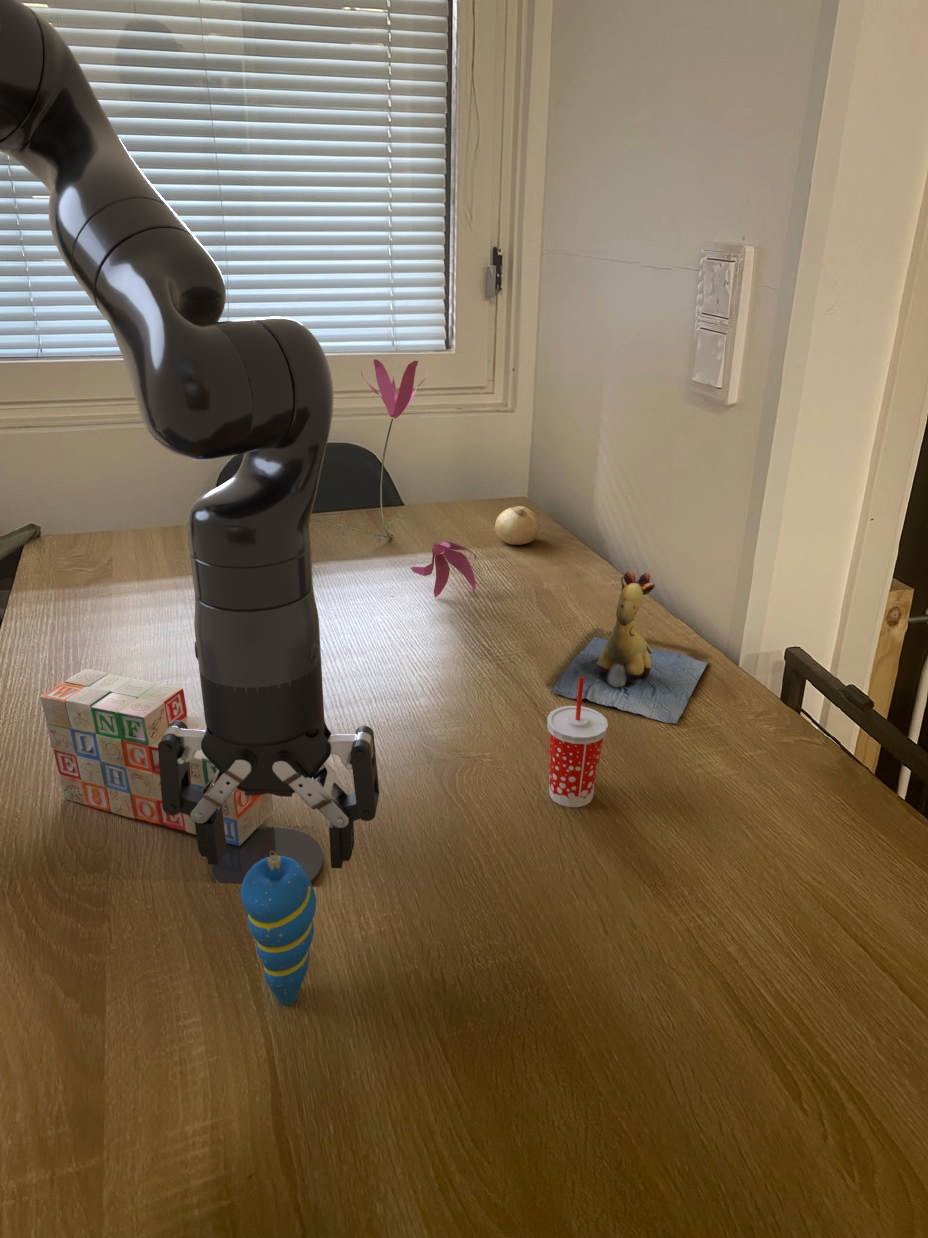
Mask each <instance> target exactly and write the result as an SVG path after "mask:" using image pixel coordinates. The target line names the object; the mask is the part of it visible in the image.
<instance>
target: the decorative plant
mask: <svg viewBox="0 0 928 1238" xmlns="http://www.w3.org/2000/svg"><path fill="white" fill-rule="evenodd" d="M418 364H419V360H413V361H412V362H409V363H408V364H407V366H406V368H405V370H404V372H403V375H402V378H401V382H400V385H399V387H396V382H395V377H394V376H393V377H392V381H391V378H390V375H389V373H388V371H387V369H386V368H385V366H384V364H383V363H381V362H380V360H379V359H373V366H374V371H375V378H376V379H375V380H376V383H377V387H378V389H379V391H377V389H376V388H375V387H374V386H372V385H371V384H370V383H368V381H367V380H366V379H365V378H364V375H363V371H362V370H361V371H360V373H361V378H363V379H364V381H365V383H366V384H367V385H368V387H369V388H370V389H371V390H372V391H373V393H375V394H377V395H379V396H380V398H381V401H382V402H383V404H384V405H385V407H386V410H387V413H388V415H389V416H390V418H391V421H390V424H389V428H388V431H387V435H386V440H385V444H384V448H383V454H382V461H381V469H380V483H379V485H380V487H379V498H380V499H379V504H380V505H379V507H380V515H381V521H382V525H383V528H384V531H385V533H386V535H382V534H378V533H375V532H371V531H368V530H364V529H360V528H356V527H353V526H348V525H344V524H340V523H335V522H328V521H322V520H318V519H311V518H310V522H314V523H315V522H316V523H320V524H321V523H322V524H327V525H332V526H338V527H343V528H347V529H351V530H354V531H358V532H362V533H365V534H370V535H374V536H377V537H380V538H378V541H381V540H382V539H383V538H388V539H390V538H391V537H393V536H394V534H390V533H389V528H390V525H391V524H392V523H393V522H395V521H404V522H405V523H407V521H406V520H403V519H401V518H400V519H399V518H395V519H391V520H390V521H389V522H388V524H387V525H386V522H385V516H384V509H383V479H384V478H383V476H384V466H385V464H384V463H385V457H386V451H387V447H388V441H389V437H390V434H391V428H392V424H393V421H394V419H398V418H399V417H400V416H401V415H402V414H403V413H404V412H405V410H406V409H407V408H408V407H409V405H410V403H411V401H412V400H413V398H414V396H415V394H416V393H417V390H418V388H419V387H420V385H422V383H424V381H425V380H426V379H427V378H428V374H426V375H425V378H424V379H423V380H422V381H421V382H420V383H419V384H418V385H417V387H416V388H415V389H414V385H415V384H414V383H415V376H416V369H417V366H418ZM428 372H429V371H427V372H426V373H428ZM379 392H380V393H379ZM428 539H429V537H428ZM429 541H430V542H432V541H431V540H430V539H429ZM460 550H461V551H466V552H469V553H471V554H472V555H473V557H474V561H477V555H476V554H475V553H474V552H473V551H471V550H470V549H468V548H467V547H465V546H463V545H461V544H457V543H454V542H451V541H442V542H441V543H433V545H432V549H431V551H432V558H431V563H429V564H427V565H426V566H411V567H410V570H411V571H412V572H413V573H414V574H418V575H420V576H422V577H427V576H430V575H432V574H433V571H434V568H435V581H434V587H433V596H434V599H436V598H437V597H438V596H439V595H441V593H442V592H443V590H444V588H445V587H446V586H447V583H448V580H449V577H450V571H451V569H452V570H453V571H454V570H455V571H456V570H458V572H459V573H460V574H462V575H463V577H464V578H465V579H466V581H467V582H468V584H469V585H470V586H471V588H472V590H473V593H474V594H476V586H477V585H476V584H477V581H476V578H475V575H474V571H473V568H472V565H471V564H470V561H469V559H468V558H467V556H466V555H465V554H464V553H462V552H460ZM449 564H450V565H451V566H452V567H451V566H450V565H449ZM434 566H435V567H434ZM450 567H451V568H450ZM453 567H454V568H453Z"/></svg>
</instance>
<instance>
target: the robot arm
mask: <svg viewBox="0 0 928 1238" xmlns="http://www.w3.org/2000/svg"><path fill="white" fill-rule="evenodd" d="M0 153H2V154H5V155H7V156H9V158H12V159H13V160H14V161H16V162H17V163H18V164H20V166H23V168H25V169H26V170H27V171H28V172H29V173H30V174H32V175H33V176H34V177H35V178H36V179H37V180H38V181H40V182H41V183H42V184H43V185H44V186H45V187H46V189H47V190H48V192H49V193H50V194H49V201H48V221H49V227H50V231H51V235H52V238H53V241H54V243H55V246H56V248H57V250H58V253H59V255H60V258H61V259H62V260H63V262H64V264H65V265H66V267H67V268H68V270H69V272H70V273H71V274H72V276H73V277H74V278H75V280H76V281H77V282H78V284H79V285H80V287H81V288H82V289H83V291H84V292H85V294H86V295H87V297H89V299H90V301H91V302H92V303H93V305H94V306H95V308H97V310H98V312H99V313H100V314H101V315H102V317H103V318H104V319H105V320H106V321H107V323H108V324H109V326H110V329H111V331H112V333H113V336H114V338H115V341H116V344H117V345H118V349H119V351H120V354H121V356H122V360H123V362H124V365H125V368H126V370H127V371H126V372H127V374H128V377H129V380H130V384H131V387H132V391H133V395H134V399H135V402H136V406H137V409H138V412H139V415H140V417H141V420H142V422H143V424H144V426H145V428H146V431H148V433H149V434H150V435H151V437H152V438H153V439H154V441H156V442H157V443H158V444H160V445H161V446H162V447H163V448H165V449H166V450H168V451H169V452H171V453H173V454H174V455H176V456H178V457H180V458H183V459H186V460H188V461H189V460H190V461H195V462H205V461H206V462H207V461H212V460H219V459H224V458H228V457H233V456H237V455H242V454H243V457H242V461H241V463H240V466H239V468H238V469H237V471H236V473H235V474H234V475H233V476H231V478H229V479H228V480H227V481H225V482H224V483H222V484H221V485H219V486H217V487H215V488H213V489H211V490H210V491H208V492H206V493H204V494H202V495H201V496H200V497H199V498H197V499H196V500H195V501H194V502H193V503H192V504H191V505H190V507H189V509H188V513H187V519H186V530H187V540H188V548H189V549H188V551H189V558H190V559H189V560H190V567H191V575H192V584H193V592H194V619H193V620H194V621H193V622H194V623H193V624H194V627H193V628H194V637H195V641H194V655H195V658H196V661H197V664H198V673H199V681H200V688H201V690H200V691H201V696H202V706H203V712H204V718H205V723H206V726H207V729H206V731H204V730H192V729H188V727H187V725H186V724H185V723H184V722H182V721H173V722H172V723H171V724H170V726H169V728H168V729H167V730H166V732H165V734H164V735H163V737H162V739H161V741H160V743H159V744H158V754H159V768H160V781H161V794H162V807H163V810H164V812H165V813H167V814H169V815H177V814H178V813H179V812H180V813H183V814H186V815H188V816H190V817H191V819H192V820H193V821H194V822H195V829H196V835H195V836H196V843H197V850H198V853H199V854H200V856H201V857H202V858H203V857H204V858H206V859H207V864H208V865H212V866H213V865H219V864H220V862H221V860H222V857H223V855H224V852H225V849H226V844H227V843H226V838H225V829H224V821H223V812H222V804H223V803H224V802H225V801H226V800H227V798H228V797H229V796H230V795H231V794H232V792H233V791H234V790H235V789H236V788H237V789H239V790H241V791H244V792H245V795H252V796H257V795H262V794H272V796H277V797H284V798H285V797H287V798H289V797H290V798H292V796H293V794H295V793H296V794H297V795H298V796H299V797H300V798H301V800H302V801H303V802H304V803H305V804H307V806H308V807H309V808H310V809H311V810H318V811H319V812H320V813H321V814H322V815H323V816H324V817H325V819H326V820H328V821H329V827H328V832H329V833H328V835H329V836H328V837H329V851H330V852H329V854H330V867H331V869H343V865H344V862H350V860H351V857H352V855H353V851H354V846H355V828H354V827H355V823H354V822H356V821H358V820H362V821H364V822H370V821H372V820H374V819H375V817H376V814H377V809H378V804H379V803H378V802H379V798H380V783H379V776H378V775H379V773H378V764H377V763H378V762H377V753H376V745H375V744H376V743H375V733H374V731H373V729H372V727H370V726H367V725H361V726H359V727H357V728H356V730H355V733H339V734H337V733H336V734H332V732H331V730H330V729H329V727H328V726H327V724H326V719H325V707H324V706H325V703H324V687H323V666H322V650H321V649H322V648H321V647H322V646H321V632H320V631H321V629H320V617H319V610H318V606H317V602H316V596H315V591H314V589H315V588H314V579H313V560H312V559H313V558H312V545H311V544H312V543H311V529H310V522H311V521H310V519H311V517H312V514H313V509H314V504H315V501H316V497H317V493H318V487H319V482H320V478H321V474H322V473H321V472H322V469H323V463H324V461H325V460H324V458H325V454H326V450H327V447H328V446H327V445H328V441H329V437H330V433H331V427H332V420H333V413H334V396H335V395H334V385H333V383H334V382H333V376H332V372H331V369H330V365H329V360H328V358H327V356H326V354H325V352H324V350H323V349H324V348H322V346H321V344H320V342H319V340H317V338H316V336H315V335H314V333H312V332H311V331H310V330H309V329H308V328H307V327H306V326H305V325H303V324H302V323H301V322H298V321H296V320H295V319H292V318H289V317H283V316H268V317H266V316H265V317H256V318H246V319H245V318H243V319H236V320H235V319H234V320H224V321H220V320H221V318H222V316H223V313H224V311H225V306H226V302H227V301H226V300H227V289H226V283H225V280H224V277H223V275H222V272H221V270H220V268H219V267H218V265H217V263H216V262H215V261H214V259H213V258H212V257H211V255H210V254H209V252H208V251H207V249H205V247H204V246H203V245H202V243H201V242H200V241H199V239H197V237H196V236H195V235H194V234H193V233H192V231H191V230H190V229H189V228H188V227H187V225H186V224H185V223H184V221H183V220H182V219H181V218H180V217H179V215H178V214H177V213H176V212H175V211H174V210H173V208H171V206H170V205H169V204H168V202H167V201H166V200H165V199H164V197H162V195H161V194H160V193H159V192H158V191H157V190H156V188H155V187H154V186H153V184H152V183H151V182H150V181H149V180H148V178H147V177H146V176H145V174H144V173H143V172H142V170H141V168H139V166H138V165H137V164H136V162H135V161H134V159H133V157H131V154H130V153H129V152H128V150H127V148H126V147H125V145H124V144H123V141H121V139H120V137H119V135H118V133H117V132H116V130H115V128H114V126H113V124H112V122H111V121H110V119H109V117H108V116H107V114H106V112H105V110H104V109H103V107H102V105H101V104H100V101H99V100H98V97H97V95H96V93H95V92H94V90H93V88H92V86H91V84H90V82H89V80H88V78H87V77H86V74H85V73H84V71H83V69H82V67H81V64H80V63H79V61H78V60H77V58H76V56H75V54H74V53H73V51H72V50H71V48H70V46H69V45H68V43H67V42H66V41H65V39H64V38H63V36H62V35H61V34H60V33H59V32H58V31H57V29H56V28H54V26H53V25H52V24H51V23H50V22H49V21H47V20H46V19H45V18H44V17H43V16H41V15H40V14H39V13H38V12H36V11H34V9H32V8H30V7H29V6H28V5H26V4H24V3H22V2H21V1H19V0H0ZM197 750H202V752H203V754H204V755H205V756H206V757H207V758H208V759H209V760H210V762H211V763H212V764H213V765H214V766H215V767H216V768H217V769H218V770H217V771H216V773H215V774H214V776H213V777H212V778H211V780H210V781H209V782H208V783H207V784H206V786H205V787H204V788H203V789H202V790H199V789H196V788H193V787H191V776H190V761H191V760H192V759H193V757H194V755H195V753H196V751H197ZM331 755H336V756H338V757H339V758H340V761H341V763H342V765H343V766H344V767H345V769H346V770H349V771H351V770H352V779H353V789H354V792H352V793H350V791H349V790H348V789H347V788H346V787H345V786H344V785H343V783H341V782H340V781H339V779H338V778H337V774H336V771H335V770H334V769H333V767H331V765H330V764H329V763H327V761H328V759H329V758H330V757H331Z"/></svg>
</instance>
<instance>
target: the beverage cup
mask: <svg viewBox="0 0 928 1238" xmlns="http://www.w3.org/2000/svg"><path fill="white" fill-rule="evenodd" d="M583 682H584V677H583V676H580V677H579V684H578V695H577V699H576V705H566V706H559V707H558V708H556V709H553V710H552V711H550V713H548V716H547V719H546V721H547V722H546V723H547V724H546V725H547V731H548V733H549V743H548V744H549V749H548V750H549V754H548V755H549V757H548V761H549V764H548V765H549V766H548V768H549V769H548V771H549V772H548V773H549V774H548V780H549V781H548V791H549V797H550V798H551V800H552V801H553V802H555V803H556V804H558V805H560V806H562V807H566V808H580V807H581V808H582V807H585V806H586V805H587V806H588V804H590V803H591V802H592V800H593V798H594V795H595V794H594V792H595V788H596V781H597V776H598V771H599V765H600V759H601V754H602V749H603V744H604V738H605V736H606V735H607V733H608V728H609V723H608V719H607V718H606V717H605V716H604V715H603V713H601V712H600V711H597V710H595V709H593V708H591V707H586V706H582V704H583V703H582V702H583V699H582V693H583Z"/></svg>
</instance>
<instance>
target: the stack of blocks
mask: <svg viewBox="0 0 928 1238" xmlns="http://www.w3.org/2000/svg"><path fill="white" fill-rule="evenodd" d="M39 697H40V702H41V705H42V706H41V707H42V710H43V714H44V717H45V722H46V728H47V733H48V738H49V742H50V745H51V748H52V749H53V755H54V759H55V764H56V768H57V771H58V774H59V775H58V778H59V783H60V787H61V790H62V791H61V792H62V794H63V798H64V799H65V800H67V801H70V802H74V803H78V804H80V805H85V806H87V807H90V808H94V809H98V810H100V811H101V810H102V811H105V812H109V813H112V814H115V815H119V816H122V817H125V818H130V819H138V820H140V821H145V822H149V823H152V824H156V825H162V826H164V827H169V828H172V829H176V830H179V831H182V832H186V833H189V834H192V835H195V836H196V829H195V822H194V821H193V820H192V819H191V817H190V816H188V815H186V814H183V813H180V812H179V813H178V814H177V815H169V814H167V813H165V812H164V810H163V807H162V794H161V781H160V768H159V754H158V744H159V743H160V741H161V739H162V737H163V735H164V734H165V732H166V730H167V729H168V728H169V726H170V724H171V723H172V722H173V721H182V722H184V723H185V724H186V725H187V727H188V729H192V730H204V731H206V729H207V726H206V723H205V717H200V716H195V715H188V709H187V704H186V697H185V691H184V688H183V687H179V686H175V685H168V684H164V683H157V682H153V681H149V680H143V679H138V678H132V677H127V676H123V675H118V674H114V673H113V674H112V673H108V672H106V671H100V670H96V669H91V668H84V669H82V670H80V671H79V672H77V673H75V674H74V675H72V676H70V677H69V678H67V679H65V680H64V682H61V683H59V684H57V685H56V686H54V687H52V688H51V689H49V690H48V691H46V692H45V693H43V694H41V695H40V696H39ZM217 770H218V769H217V768H216V767H215V766H214V765H213V764H212V763H211V762H210V760H209V759H208V758H207V757H206V756H205V755H204V754H203V752H202V750H197V751H196V753H195V755H194V757H193V759H192V760H191V761H190V776H191V787H193V788H196V789H199V790H202V789H203V788H204V787H205V786H206V784H207V783H208V782H209V781H210V780H211V778H212V777H213V776H214V774H215V773H216V771H217ZM273 811H274V801H273V794H262V795H257V796H252V795H245V792H244V791H241V790H239V789H237V788H236V789H235V790H234V791H233V792H232V794H231V795H230V796H229V797H228V798H227V800H226V801H225V802H224V803H223V804H222V812H223V821H224V829H225V838H226V844H227V843H229V844H233V845H236V846H240V845H241V844H242V843H243V842H244V841H245V840H246V839H247V838H248V837H249V836H250V835H251V834H252V833H253V831H254V830H256V829H258V828H259V827H260V826H261V824H263V823H264V822H265V821H266V819H268V818H269V816H271V814H272V813H273Z"/></svg>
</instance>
